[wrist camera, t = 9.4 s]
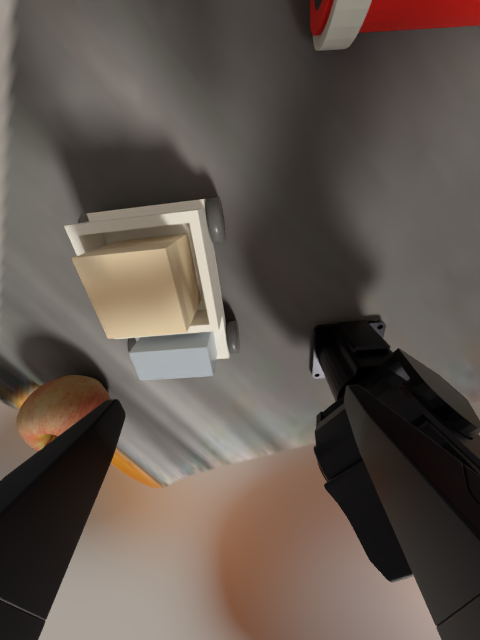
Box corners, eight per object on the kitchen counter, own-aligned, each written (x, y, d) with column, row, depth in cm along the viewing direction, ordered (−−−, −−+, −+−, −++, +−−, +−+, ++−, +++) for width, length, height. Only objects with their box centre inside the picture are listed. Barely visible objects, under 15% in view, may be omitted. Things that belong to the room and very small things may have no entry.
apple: (120, 365, 25) (72, 431, 18) (127, 413, 29) (90, 482, 22) (46, 356, 25) (-32, 419, 18) (63, 406, 29) (4, 474, 22)
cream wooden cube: (201, 299, 18) (186, 332, 14) (140, 304, 19) (107, 338, 14) (187, 233, 16) (165, 248, 11) (118, 240, 16) (71, 258, 12)
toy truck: (239, 340, 23) (238, 381, 18) (147, 347, 24) (121, 388, 19) (221, 197, 17) (210, 198, 12) (96, 212, 18) (38, 219, 13)
